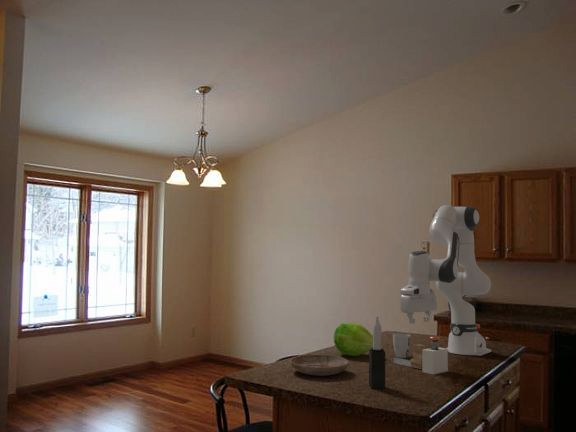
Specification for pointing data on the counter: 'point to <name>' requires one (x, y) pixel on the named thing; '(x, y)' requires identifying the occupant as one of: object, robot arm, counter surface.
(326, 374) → the ceramic bowl
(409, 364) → the rail
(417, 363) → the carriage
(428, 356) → the housing
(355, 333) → the lettuce
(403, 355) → the cup
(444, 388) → the counter surface
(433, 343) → the plunger
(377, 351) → the candle
